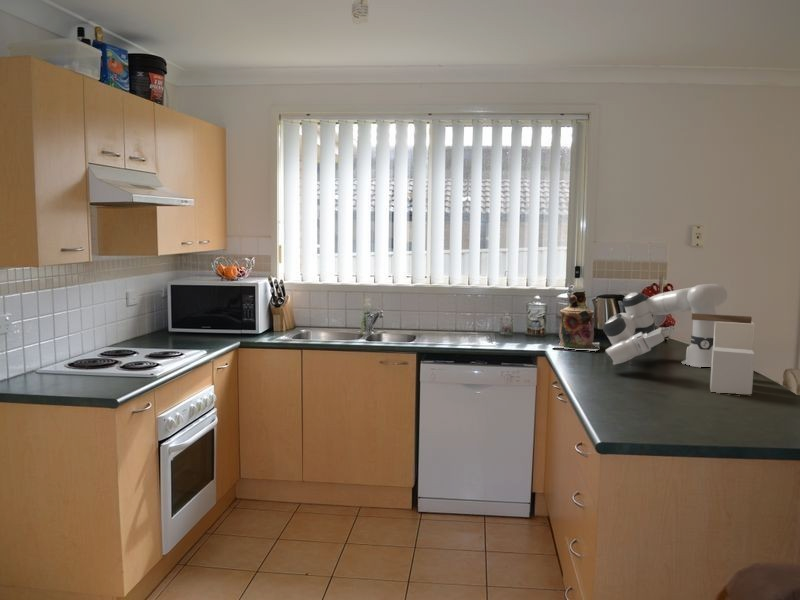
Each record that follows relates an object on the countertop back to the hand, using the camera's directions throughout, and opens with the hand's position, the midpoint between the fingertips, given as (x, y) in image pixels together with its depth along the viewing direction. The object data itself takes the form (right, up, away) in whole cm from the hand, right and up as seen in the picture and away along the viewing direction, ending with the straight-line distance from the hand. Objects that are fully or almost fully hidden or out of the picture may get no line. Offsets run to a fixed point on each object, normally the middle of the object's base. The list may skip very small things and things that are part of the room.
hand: (673, 328), depth 276 cm
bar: (+17, +3, -7) cm, 18 cm away
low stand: (+13, -24, -21) cm, 34 cm away
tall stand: (+21, -23, -7) cm, 31 cm away
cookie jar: (-20, -14, +79) cm, 82 cm away
